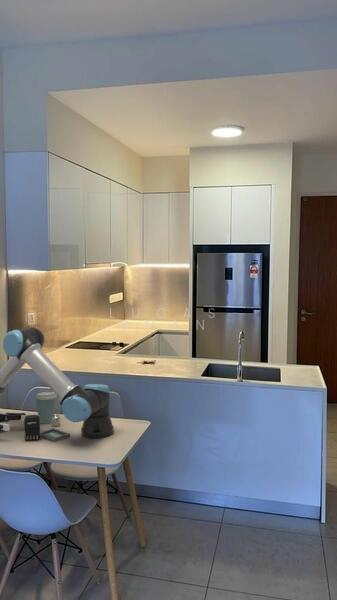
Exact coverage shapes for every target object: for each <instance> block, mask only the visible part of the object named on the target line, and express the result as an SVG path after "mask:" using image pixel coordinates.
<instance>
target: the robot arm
mask: <svg viewBox="0 0 337 600" xmlns="http://www.w3.org/2000/svg"><path fill="white" fill-rule="evenodd" d="M45 341H46V340H45V335H44V333H43V332H42V330H41V329H39V328H37V327H35V326H34V327H33V326H32V327H26V328H20V329H13V330H11V331H8V332H7V333H6V334H5V335H4V337H3V339H2V349H3V351H4V353H5V354H6V355H8V356H9V357H10V358H9V359H8V360H7V361H6V362H5V363H4V364H3V366H2V367H1V368H0V395H1V394H3V393H4V392H5V391H6V389H7V384H9V383H10V382H11V380H12V379H13V378H15V376H16V374H17V373H18V372H19V371H20V370H21V369H22V368H23V367H24V366H25V365H26V364H27V365H28V366H29V367H30V368H31V370H32V371H34V373H35V374H36V375H37V376H38V377H39V378H40V379H41V380H42V381H43V382H44V384H46V385H47V387H48V388H49V389H51V392H54V393H55V394H56V395H57V397H58V398H59V404H60V405H61V410H62V411H61V412H62V414H63V416H64V417H65V419H67V420H68V421H70V422H72V423H80V422H83V424H82V427H81V430H80V433H81V436H83V437H84V438H89V439H102V438H107V437H110V436H111V435H113V434H114V433H115V431H114V429H115V428H114V425H113V421H112V419H111V416H110V415H111V414H110V409H111V407H110V400H111V399H110V396H111V395H110V393H111V391H110V387H109V386H108V385H107V384H101V383H100V384H99V383H88V384H85V385H84V386H83V387H84V388H83V387H82V386H81V385H80V384H74V383H73V382H72V381H71V379H69V377H67V376H66V374H64V372H63V371H62V370H61V369H60V368H59V367H58V366H57V365H56V364H55V363H54V362H53V361H52V360H51V359H50V357H49V356H47V355H46V354H45V352H44V351H43V350H42V349H43V347H44V345H45ZM25 416H26V413H25V412H5V413H0V430H1V431H5V432H10V424H8V423H7V422H11V421H21V422H24V419H25Z"/></svg>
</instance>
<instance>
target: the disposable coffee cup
mask: <svg viewBox="0 0 337 600" xmlns="http://www.w3.org/2000/svg"><path fill="white" fill-rule="evenodd" d="M57 397H58V396H57V395H56V394H55V393H54V392H53V391H43V392H39V393H37V394H35V402H36V409H37V415H39V416H40V424H52V415H55V409H56V400H57Z"/></svg>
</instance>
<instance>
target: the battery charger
mask: <svg viewBox="0 0 337 600" xmlns="http://www.w3.org/2000/svg"><path fill="white" fill-rule="evenodd" d="M25 415H26V414H25ZM23 428H24V440H25V441H26V442H32V441H34V442H35V441H39V440H41V437H40V432H41V423H40V416H39V415H38V413H37V414H27V415H26V416H25V419H24V421H23Z"/></svg>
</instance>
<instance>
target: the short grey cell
mask: <svg viewBox="0 0 337 600" xmlns="http://www.w3.org/2000/svg"><path fill="white" fill-rule="evenodd" d="M60 426H61V416H60V414H58V413H57V414H55V413H54V415H52V422H51V427H52V428H59V427H60Z"/></svg>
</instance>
